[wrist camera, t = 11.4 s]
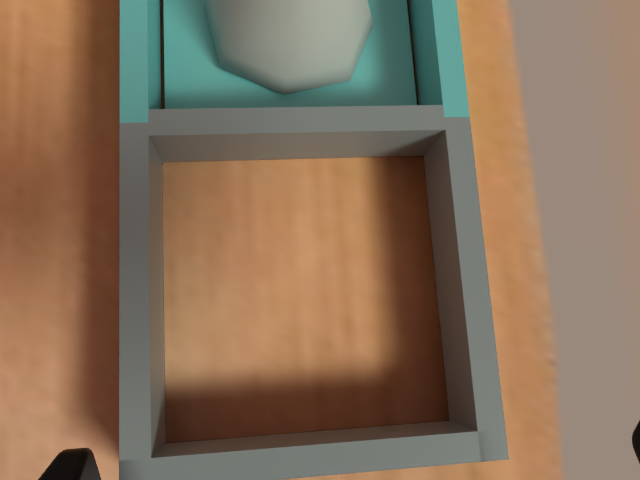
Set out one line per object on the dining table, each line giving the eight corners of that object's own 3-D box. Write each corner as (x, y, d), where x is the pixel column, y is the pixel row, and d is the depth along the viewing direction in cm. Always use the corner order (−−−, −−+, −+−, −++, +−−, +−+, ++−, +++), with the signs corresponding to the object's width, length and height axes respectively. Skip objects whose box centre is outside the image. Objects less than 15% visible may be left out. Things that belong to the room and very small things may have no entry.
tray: (476, 444, 23) (508, 459, 20) (138, 473, 21) (119, 493, 18) (418, -108, 27) (437, -163, 24) (135, -115, 26) (120, -175, 23)
